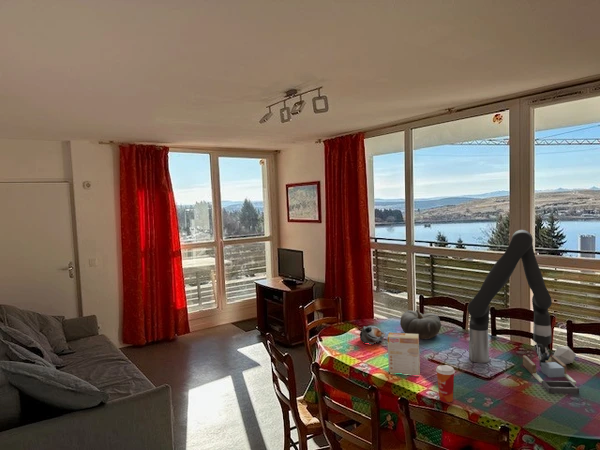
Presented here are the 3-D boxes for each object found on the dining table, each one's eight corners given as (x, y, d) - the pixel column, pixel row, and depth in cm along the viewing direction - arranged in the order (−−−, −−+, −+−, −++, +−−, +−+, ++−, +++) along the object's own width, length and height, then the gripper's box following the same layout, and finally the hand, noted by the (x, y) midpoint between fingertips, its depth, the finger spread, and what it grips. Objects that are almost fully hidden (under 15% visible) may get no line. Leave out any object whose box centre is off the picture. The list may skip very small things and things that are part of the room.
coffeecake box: (420, 371, 205) (418, 333, 204) (419, 377, 198) (418, 338, 197) (390, 368, 210) (388, 331, 208) (388, 374, 203) (387, 336, 202)
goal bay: (540, 383, 185) (540, 381, 185) (532, 375, 194) (532, 373, 194) (576, 384, 183) (576, 382, 183) (566, 375, 192) (566, 373, 192)
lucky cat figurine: (384, 339, 254) (388, 323, 247) (380, 352, 244) (384, 336, 237) (361, 331, 258) (365, 315, 251) (356, 343, 249) (359, 327, 242)
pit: (549, 393, 176) (549, 387, 176) (542, 385, 183) (542, 380, 183) (579, 393, 174) (579, 388, 174) (570, 386, 181) (570, 381, 181)
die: (575, 368, 200) (581, 350, 203) (558, 359, 202) (564, 341, 204) (564, 368, 208) (570, 350, 211) (548, 359, 210) (554, 342, 212)
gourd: (397, 325, 272) (400, 301, 269) (434, 331, 269) (439, 306, 266) (400, 341, 248) (404, 315, 245) (441, 348, 245) (446, 321, 242)
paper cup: (433, 396, 178) (432, 365, 178) (450, 394, 179) (449, 363, 178) (441, 404, 170) (440, 372, 170) (458, 403, 171) (458, 371, 170)
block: (549, 377, 191) (549, 368, 191) (541, 371, 198) (540, 362, 198) (564, 377, 191) (564, 367, 191) (555, 370, 198) (555, 362, 198)
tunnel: (532, 375, 194) (532, 364, 194) (522, 365, 206) (522, 355, 206) (566, 375, 192) (566, 365, 192) (554, 365, 204) (554, 355, 203)
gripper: (528, 328, 206) (528, 361, 207) (540, 337, 193) (540, 372, 194) (544, 328, 205) (544, 361, 206) (556, 337, 192) (557, 372, 193)
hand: (542, 366), depth 200 cm, fingers closed
